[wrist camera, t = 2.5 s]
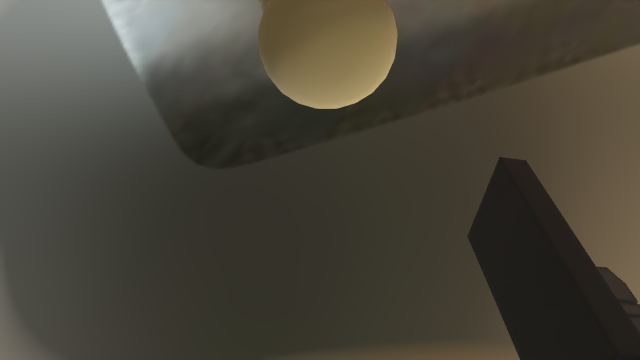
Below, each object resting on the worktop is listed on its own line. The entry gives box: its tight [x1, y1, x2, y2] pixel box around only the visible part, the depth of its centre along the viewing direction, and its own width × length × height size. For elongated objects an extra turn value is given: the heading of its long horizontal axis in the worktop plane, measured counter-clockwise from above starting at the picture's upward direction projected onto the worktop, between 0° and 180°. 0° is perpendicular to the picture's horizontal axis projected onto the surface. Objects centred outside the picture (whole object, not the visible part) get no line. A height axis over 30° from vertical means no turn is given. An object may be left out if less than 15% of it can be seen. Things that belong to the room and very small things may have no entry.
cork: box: [259, 0, 397, 109], centre depth 26 cm, size 6×6×11 cm
